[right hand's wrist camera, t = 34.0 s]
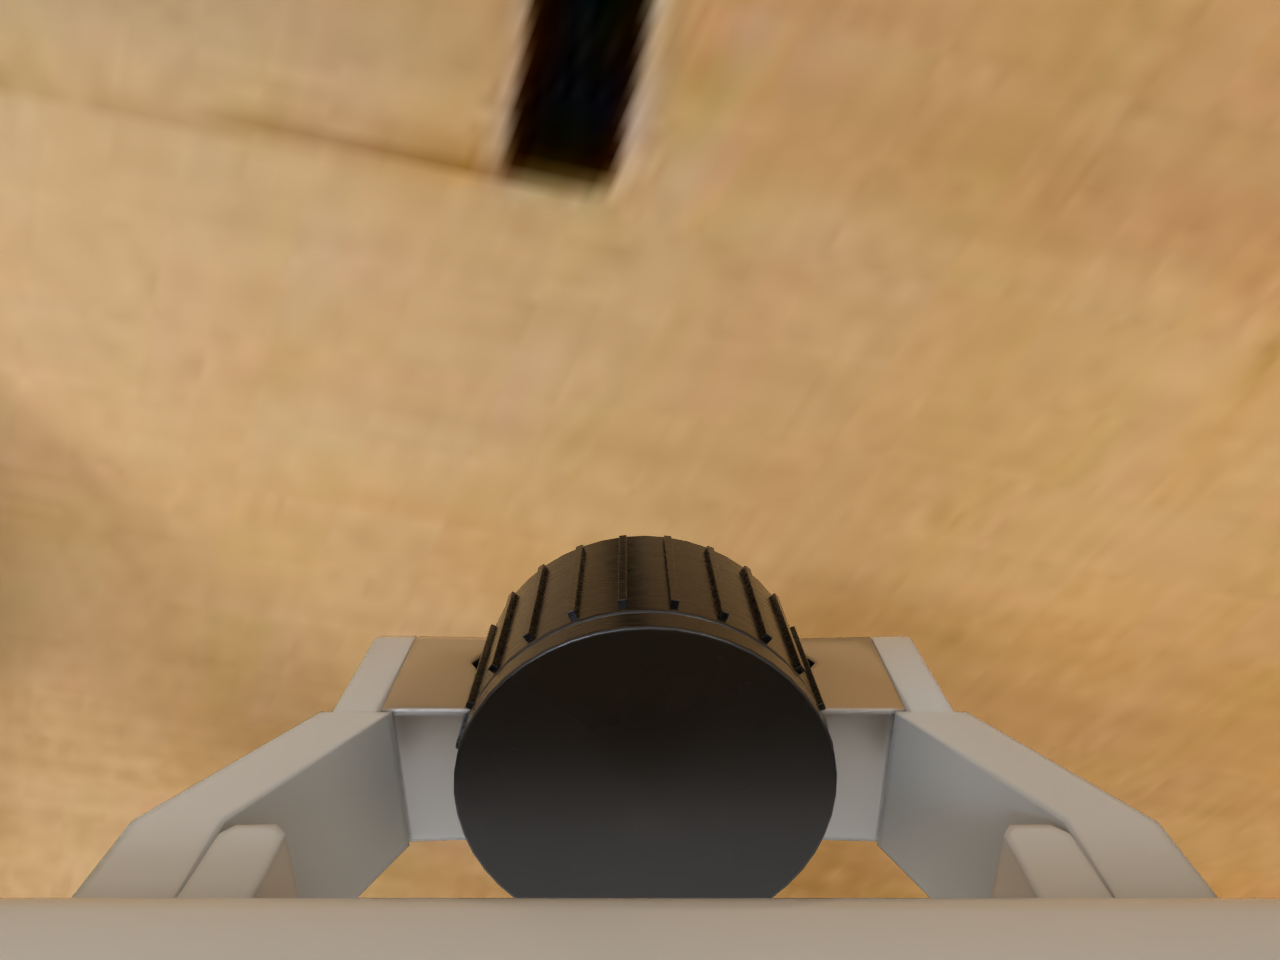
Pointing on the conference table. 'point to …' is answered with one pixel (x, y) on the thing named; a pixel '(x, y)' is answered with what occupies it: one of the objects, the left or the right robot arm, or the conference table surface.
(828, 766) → the cap
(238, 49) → the conference table surface
